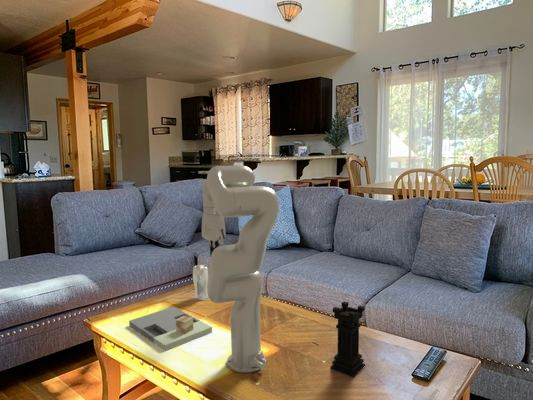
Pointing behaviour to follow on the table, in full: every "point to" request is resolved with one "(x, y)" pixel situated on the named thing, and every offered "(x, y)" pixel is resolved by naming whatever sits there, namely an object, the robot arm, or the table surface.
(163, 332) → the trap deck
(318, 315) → the table surface
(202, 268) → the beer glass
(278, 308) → the table surface
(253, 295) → the robot arm
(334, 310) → the chess piece
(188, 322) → the maple cube
